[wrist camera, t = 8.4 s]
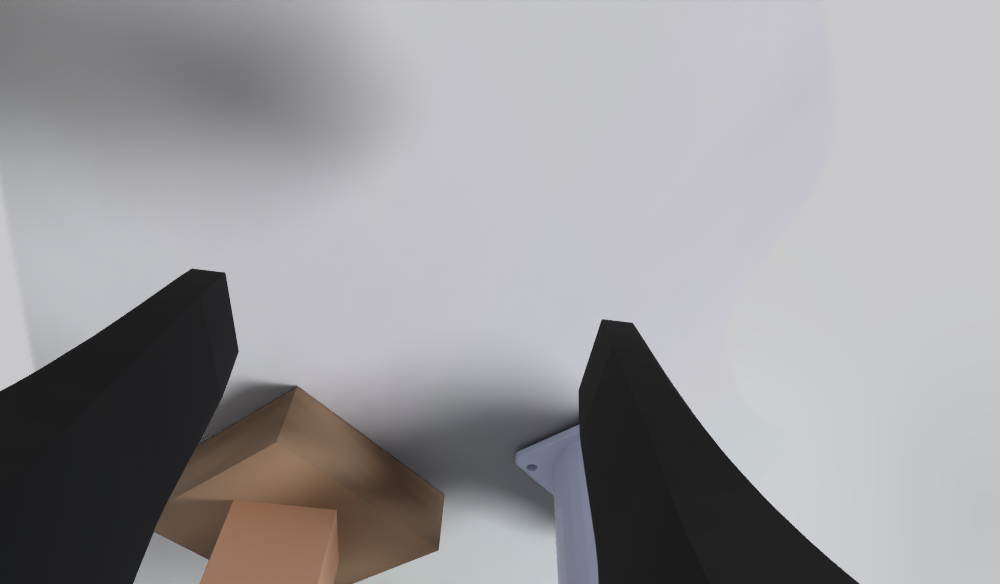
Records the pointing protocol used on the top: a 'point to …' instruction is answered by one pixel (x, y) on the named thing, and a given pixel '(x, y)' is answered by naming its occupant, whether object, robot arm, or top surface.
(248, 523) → the terracotta block
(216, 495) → the walnut plinth
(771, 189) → the top surface
